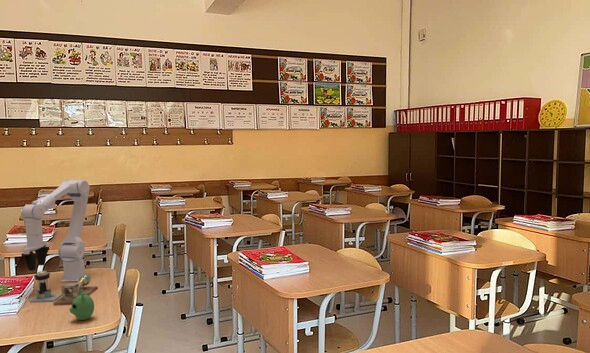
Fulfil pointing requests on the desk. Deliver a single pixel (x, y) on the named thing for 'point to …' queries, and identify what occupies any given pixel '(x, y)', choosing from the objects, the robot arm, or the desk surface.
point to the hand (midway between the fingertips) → (37, 267)
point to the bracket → (69, 298)
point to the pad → (51, 298)
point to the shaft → (80, 283)
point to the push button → (43, 285)
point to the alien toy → (82, 306)
